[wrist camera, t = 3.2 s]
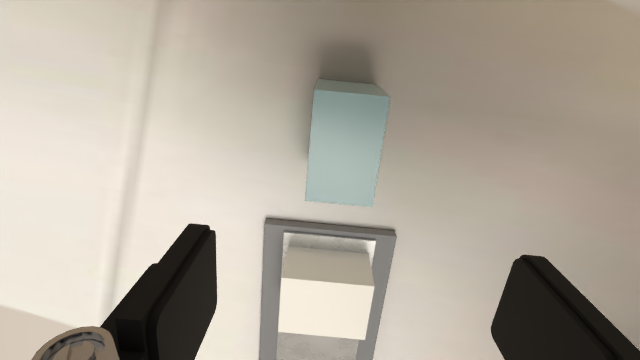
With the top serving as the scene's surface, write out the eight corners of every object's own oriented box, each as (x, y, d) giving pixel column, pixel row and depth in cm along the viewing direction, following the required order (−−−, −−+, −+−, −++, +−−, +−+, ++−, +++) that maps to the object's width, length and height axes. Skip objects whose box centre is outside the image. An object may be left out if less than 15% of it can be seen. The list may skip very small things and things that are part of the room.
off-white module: (368, 253, 34) (374, 286, 30) (360, 302, 36) (364, 340, 32) (288, 246, 34) (281, 277, 30) (284, 295, 36) (278, 331, 32)
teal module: (375, 84, 30) (390, 96, 23) (363, 170, 33) (372, 207, 26) (318, 78, 30) (314, 89, 23) (310, 165, 33) (304, 200, 26)
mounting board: (394, 230, 35) (397, 238, 34) (356, 428, 46) (357, 441, 44) (266, 218, 35) (263, 225, 34) (258, 419, 46) (255, 432, 44)
